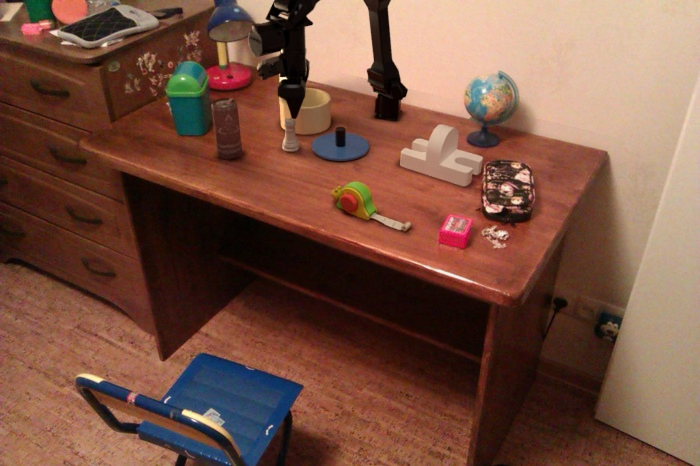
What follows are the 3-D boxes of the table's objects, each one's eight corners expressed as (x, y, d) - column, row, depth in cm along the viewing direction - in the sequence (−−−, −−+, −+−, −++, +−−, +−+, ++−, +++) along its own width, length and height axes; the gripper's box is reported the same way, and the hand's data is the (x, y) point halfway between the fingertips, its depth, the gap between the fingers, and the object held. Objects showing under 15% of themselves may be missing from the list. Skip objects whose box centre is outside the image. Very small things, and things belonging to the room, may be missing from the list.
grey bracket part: (465, 187, 140) (471, 145, 133) (398, 165, 148) (400, 125, 141) (482, 170, 146) (488, 129, 140) (416, 150, 154) (420, 111, 148)
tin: (328, 112, 172) (328, 87, 168) (332, 133, 161) (332, 107, 157) (280, 114, 171) (278, 88, 167) (281, 135, 160) (279, 109, 156)
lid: (364, 135, 161) (365, 115, 158) (372, 161, 149) (373, 140, 146) (310, 137, 160) (309, 117, 156) (313, 164, 148) (313, 143, 144)
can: (247, 151, 153) (242, 99, 145) (233, 162, 148) (227, 109, 140) (227, 146, 155) (221, 94, 147) (212, 157, 150) (205, 104, 142)
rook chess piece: (302, 146, 155) (301, 117, 151) (295, 153, 152) (294, 124, 147) (286, 143, 157) (284, 114, 152) (279, 151, 153) (277, 122, 148)
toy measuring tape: (341, 195, 136) (341, 169, 132) (416, 223, 127) (418, 197, 123) (324, 208, 132) (323, 182, 128) (400, 238, 123) (402, 211, 119)
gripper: (263, 34, 147) (267, 95, 156) (252, 60, 131) (257, 126, 140) (309, 35, 147) (310, 95, 156) (303, 61, 131) (305, 127, 140)
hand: (295, 110), depth 148 cm, fingers open, 9 cm apart
